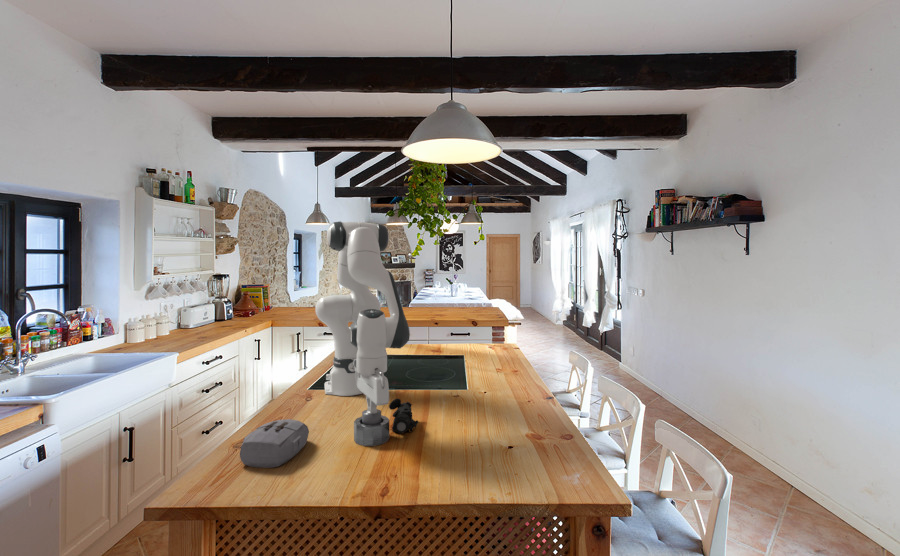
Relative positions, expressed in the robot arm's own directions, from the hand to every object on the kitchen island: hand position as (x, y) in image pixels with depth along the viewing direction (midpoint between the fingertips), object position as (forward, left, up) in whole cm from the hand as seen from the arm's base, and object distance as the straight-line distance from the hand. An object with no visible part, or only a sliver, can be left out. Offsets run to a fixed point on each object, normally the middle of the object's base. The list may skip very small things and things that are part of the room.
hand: (371, 411), depth 132 cm
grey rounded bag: (-4, -26, -9) cm, 27 cm away
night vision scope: (-3, +11, -9) cm, 14 cm away
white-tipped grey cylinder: (0, 0, -5) cm, 5 cm away
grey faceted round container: (0, 0, -8) cm, 8 cm away
